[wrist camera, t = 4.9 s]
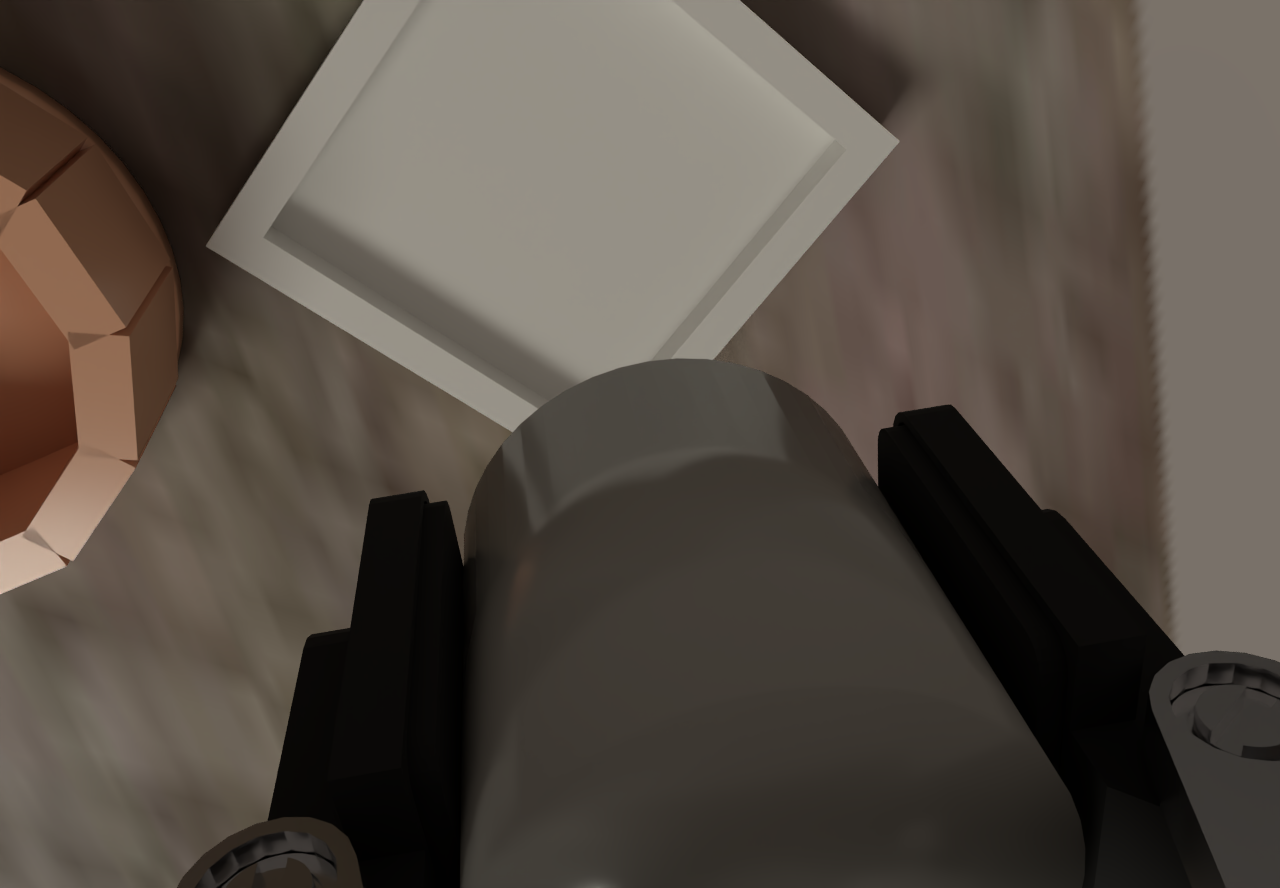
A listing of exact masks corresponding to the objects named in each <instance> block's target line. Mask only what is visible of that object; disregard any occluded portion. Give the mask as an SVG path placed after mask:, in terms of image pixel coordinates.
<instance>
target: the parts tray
mask: <svg viewBox="0 0 1280 888" xmlns="http://www.w3.org/2000/svg"><path fill="white" fill-rule="evenodd" d="M899 142H900V141H899V140H898V139H897V138H895V137H894V136H893V135H892V134H891V133H890V132H889V131H888V130H886V129H885V128H884V127H883V126H882V125H881V124H880V123H878V122H877V121H876V120H875V119H874V118H873V117H872V116H870V115H869V114H868V113H867V112H866V111H865V110H864V109H863V108H861V107H860V106H859V105H858V104H857V103H856V102H855V101H853V100H852V99H851V98H850V97H849V96H848V95H847V94H846V93H844V92H843V91H842V90H841V89H840V88H839V87H838V86H836V85H835V84H834V83H833V82H832V81H831V80H830V79H829V78H827V77H826V76H825V75H824V74H823V73H822V72H821V71H819V70H818V69H817V68H816V67H815V66H814V65H813V64H811V63H810V62H809V61H808V60H807V59H806V58H805V57H804V56H802V55H801V54H800V53H799V52H798V51H797V50H796V49H794V48H793V47H792V46H791V45H790V44H789V43H788V42H787V41H785V40H784V39H783V38H782V37H781V36H780V35H779V34H777V33H776V32H775V31H774V30H773V29H772V28H771V27H770V26H768V25H767V24H766V23H765V22H764V21H763V20H762V19H760V18H759V17H758V16H757V15H756V14H755V13H754V12H752V11H751V10H750V9H749V8H748V7H747V6H746V5H745V4H743V3H742V2H741V1H740V0H362V2H361V3H360V5H359V7H358V8H357V10H356V11H355V13H354V14H353V16H352V17H351V19H350V21H349V22H348V24H347V25H346V27H345V28H344V30H343V31H342V33H341V35H340V36H339V38H338V39H337V41H336V42H335V44H334V45H333V47H332V49H331V50H330V52H329V53H328V55H327V56H326V58H325V59H324V61H323V63H322V64H321V66H320V67H319V69H318V70H317V72H316V73H315V75H314V77H313V78H312V80H311V81H310V83H309V84H308V86H307V87H306V89H305V91H304V92H303V94H302V95H301V97H300V98H299V100H298V101H297V103H296V105H295V106H294V108H293V109H292V111H291V112H290V114H289V115H288V117H287V119H286V120H285V122H284V123H283V125H282V126H281V128H280V129H279V131H278V133H277V134H276V136H275V137H274V139H273V140H272V142H271V143H270V145H269V147H268V148H267V150H266V151H265V153H264V154H263V156H262V157H261V159H260V161H259V162H258V164H257V165H256V167H255V168H254V170H253V171H252V173H251V175H250V176H249V178H248V179H247V181H246V182H245V184H244V185H243V187H242V189H241V190H240V192H239V193H238V195H237V196H236V198H235V199H234V201H233V203H232V204H231V206H230V207H229V209H228V210H227V212H226V213H225V215H224V216H223V218H222V220H221V221H220V223H219V224H218V226H217V227H216V229H215V231H214V233H213V234H212V236H211V238H210V239H209V241H208V243H207V245H206V247H208V248H209V249H211V250H212V251H214V252H216V253H217V254H219V255H221V256H222V257H224V258H226V259H227V260H229V261H231V262H232V263H234V264H236V265H237V266H239V267H241V268H242V269H244V270H246V271H247V272H249V273H250V274H252V275H254V276H255V277H257V278H259V279H260V280H262V281H264V282H265V283H267V284H269V285H270V286H272V287H274V288H275V289H277V290H279V291H280V292H282V293H284V294H285V295H287V296H288V297H290V298H292V299H293V300H295V301H297V302H298V303H300V304H302V305H303V306H305V307H307V308H308V309H310V310H312V311H313V312H315V313H317V314H318V315H320V316H322V317H323V318H325V319H326V320H328V321H330V322H331V323H333V324H335V325H336V326H338V327H340V328H341V329H343V330H345V331H346V332H348V333H350V334H351V335H353V336H355V337H356V338H358V339H360V340H361V341H363V342H364V343H366V344H368V345H369V346H371V347H373V348H374V349H376V350H378V351H379V352H381V353H383V354H384V355H386V356H388V357H389V358H391V359H393V360H394V361H396V362H398V363H399V364H401V365H402V366H404V367H406V368H407V369H409V370H411V371H412V372H414V373H416V374H417V375H419V376H421V377H422V378H424V379H426V380H427V381H429V382H431V383H432V384H434V385H436V386H437V387H439V388H440V389H442V390H444V391H445V392H447V393H449V394H450V395H452V396H454V397H455V398H457V399H459V400H460V401H462V402H464V403H465V404H467V405H469V406H470V407H472V408H474V409H475V410H477V411H478V412H480V413H482V414H483V415H485V416H487V417H488V418H490V419H492V420H493V421H495V422H497V423H498V424H500V425H502V426H503V427H505V428H507V429H508V430H510V431H512V432H514V430H515V429H516V428H517V427H518V426H519V425H520V424H521V423H522V422H523V421H524V420H526V419H527V418H528V417H529V416H530V415H532V414H533V413H534V412H535V411H536V410H537V409H539V408H540V407H541V406H542V405H544V404H545V403H547V402H548V401H550V400H551V399H553V398H555V397H556V396H558V395H559V394H561V393H562V392H564V391H565V390H567V389H569V388H571V387H573V386H575V385H577V384H579V383H581V382H583V381H585V380H588V379H590V378H592V377H594V376H597V375H600V374H603V373H606V372H609V371H611V370H614V369H617V368H620V367H625V366H629V365H634V364H638V363H643V362H647V361H655V360H666V359H676V358H685V359H710V360H713V359H714V358H715V357H716V356H717V355H718V354H719V352H720V351H721V350H722V349H723V348H724V347H725V345H726V344H727V343H728V342H729V341H730V339H731V338H732V337H733V336H734V335H735V334H736V332H737V331H738V330H739V329H740V328H741V327H742V325H743V324H744V323H745V322H746V321H747V320H748V318H749V317H750V316H751V315H752V314H753V313H754V311H755V310H756V309H757V308H758V307H759V306H760V304H761V303H762V302H763V301H764V300H765V299H766V297H767V296H768V295H769V294H770V293H771V292H772V290H773V289H774V288H775V287H776V286H777V284H778V283H779V282H780V281H781V280H782V279H783V277H784V276H785V275H786V274H787V273H788V272H789V270H790V269H791V268H792V267H793V266H794V265H795V263H796V262H797V261H798V260H799V259H800V258H801V256H802V255H803V254H804V253H805V252H806V251H807V249H808V248H809V247H810V246H811V245H812V244H813V242H814V241H815V240H816V239H817V238H818V237H819V235H820V234H821V233H822V232H823V231H824V229H825V228H826V227H827V226H828V225H829V224H830V222H831V221H832V220H833V219H834V218H835V217H836V215H837V214H838V213H839V212H840V211H841V210H842V208H843V207H844V206H845V205H846V204H847V203H848V201H849V200H850V199H851V198H852V197H853V196H854V194H855V193H856V192H857V191H858V190H859V189H860V187H861V186H862V185H863V184H864V183H865V182H866V180H867V179H868V178H869V177H870V176H871V174H872V173H873V172H874V171H875V170H876V169H877V167H878V166H879V165H880V164H881V163H882V162H883V160H884V159H885V158H886V157H887V156H888V155H889V153H890V152H891V151H892V150H893V149H894V148H895V146H896V145H897V144H898V143H899Z"/></svg>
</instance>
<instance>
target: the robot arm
mask: <svg viewBox="0 0 1280 888" xmlns="http://www.w3.org/2000/svg"><path fill="white" fill-rule="evenodd" d="M878 488H879V489H880V491H881V492H882V494H883V496H884V497H885V499H886V500H887V502H888V504H889V505H890V507H891V508H892V510H893V512H894V513H895V515H896V516H897V518H898V520H899V521H900V523H901V524H902V526H903V528H904V529H905V531H906V532H907V534H908V535H909V537H910V539H911V540H912V542H913V543H914V545H915V547H916V548H917V550H918V551H919V553H920V555H921V556H922V558H923V559H924V561H925V563H926V564H927V566H928V567H929V569H930V571H931V572H932V574H933V575H934V577H935V579H936V580H937V582H938V583H939V585H940V587H941V588H942V590H943V591H944V593H945V595H946V596H947V598H948V599H949V601H950V603H951V604H952V606H953V607H954V609H955V610H956V612H957V614H958V615H959V617H960V618H961V620H962V622H963V623H964V625H965V626H966V628H967V630H968V631H969V633H970V634H971V636H972V638H973V639H974V641H975V642H976V644H977V646H978V647H979V649H980V650H981V652H982V654H983V655H984V657H985V658H986V660H987V662H988V663H989V665H990V666H991V668H992V670H993V671H994V673H995V674H996V676H997V678H998V679H999V681H1000V682H1001V684H1002V685H1003V687H1004V689H1005V690H1006V692H1007V693H1008V695H1009V697H1010V698H1011V700H1012V701H1013V703H1014V705H1015V706H1016V708H1017V709H1018V711H1019V713H1020V714H1021V716H1022V717H1023V719H1024V721H1025V722H1026V724H1027V725H1028V727H1029V729H1030V730H1031V732H1032V733H1033V735H1034V737H1035V738H1036V740H1037V741H1038V743H1039V745H1040V746H1041V748H1042V749H1043V751H1044V753H1045V754H1046V756H1047V757H1048V759H1049V760H1050V762H1051V764H1052V765H1053V767H1054V768H1055V770H1056V772H1057V773H1058V775H1059V776H1060V778H1061V780H1062V781H1063V783H1064V784H1065V786H1066V788H1067V789H1068V791H1069V792H1070V794H1071V796H1072V799H1073V802H1074V804H1075V807H1076V809H1077V812H1078V815H1079V817H1080V820H1081V825H1082V831H1083V837H1084V843H1085V876H1084V881H1083V886H1082V888H1280V662H1277V661H1275V660H1271V659H1267V658H1263V657H1259V656H1255V655H1251V654H1247V653H1240V652H1227V651H1210V652H1201V653H1193V654H1188V655H1186V656H1184V655H1183V654H1182V652H1181V651H1180V650H1179V649H1178V648H1177V647H1176V646H1175V644H1174V643H1173V642H1172V641H1171V640H1170V639H1169V637H1168V636H1167V635H1166V634H1165V633H1164V632H1163V631H1162V629H1161V628H1160V627H1159V626H1158V625H1157V624H1156V623H1155V621H1154V620H1153V619H1152V618H1151V617H1150V616H1149V614H1148V613H1147V612H1146V611H1145V610H1144V609H1143V608H1142V606H1141V605H1140V604H1139V603H1138V602H1137V601H1136V600H1135V598H1134V597H1133V596H1132V595H1131V594H1130V593H1129V592H1128V590H1127V589H1126V588H1125V587H1124V586H1123V585H1122V583H1121V582H1120V581H1119V580H1118V579H1117V578H1116V577H1115V575H1114V574H1113V573H1112V572H1111V571H1110V570H1109V569H1108V567H1107V566H1106V565H1105V564H1104V563H1103V562H1102V561H1101V559H1100V558H1099V557H1098V556H1097V555H1096V554H1095V552H1094V551H1093V550H1092V549H1091V548H1090V547H1089V546H1088V544H1087V543H1086V542H1085V541H1084V540H1083V539H1082V538H1081V536H1080V535H1079V534H1078V533H1077V532H1076V531H1075V530H1074V528H1073V527H1072V526H1071V525H1070V524H1069V523H1068V521H1067V520H1066V519H1065V518H1064V517H1063V516H1061V515H1060V514H1059V513H1058V512H1057V511H1055V510H1050V509H1044V510H1041V509H1040V508H1039V507H1038V505H1037V504H1036V503H1035V502H1034V501H1033V499H1032V498H1031V497H1030V496H1029V495H1028V494H1027V492H1026V491H1025V490H1024V489H1023V488H1022V486H1021V485H1020V484H1019V483H1018V482H1017V481H1016V479H1015V478H1014V477H1013V476H1012V475H1011V473H1010V472H1009V471H1008V470H1007V469H1006V468H1005V466H1004V465H1003V464H1002V463H1001V462H1000V461H999V459H998V458H997V457H996V456H995V455H994V453H993V452H992V451H991V450H990V449H989V448H988V446H987V445H986V444H985V443H984V442H983V440H982V439H981V438H980V437H979V436H978V435H977V433H976V432H975V431H974V430H973V429H972V427H971V426H970V425H969V424H968V423H967V422H966V420H965V419H964V418H963V417H962V416H961V414H960V413H959V412H958V411H957V410H956V409H955V408H954V407H953V406H952V405H942V406H936V407H930V408H924V409H918V410H912V411H905V412H899V413H898V414H897V415H896V416H895V420H894V424H893V427H890V428H884V429H881V430H880V432H879V436H878ZM463 580H464V567H463V563H462V559H461V554H460V550H459V546H458V541H457V537H456V533H455V528H454V524H453V520H452V515H451V511H450V507H449V505H448V502H447V501H441V502H434V503H429V499H428V497H427V494H426V492H425V491H424V490H423V491H417V492H411V493H405V494H399V495H393V496H387V497H380V498H374V499H371V501H370V504H369V510H368V516H367V523H366V529H365V536H364V542H363V549H362V555H361V562H360V568H359V575H358V581H357V588H356V594H355V601H354V607H353V614H352V620H351V627H350V628H347V629H341V630H335V631H329V632H323V633H317V634H312V635H310V636H309V637H308V638H307V640H306V643H305V646H304V649H303V653H302V658H301V663H300V668H299V673H298V677H297V682H296V687H295V692H294V697H293V701H292V706H291V711H290V716H289V721H288V726H287V730H286V735H285V740H284V745H283V750H282V754H281V759H280V764H279V769H278V774H277V778H276V783H275V788H274V793H273V798H272V803H271V807H270V812H269V817H268V821H266V822H261V823H257V824H254V825H252V826H250V827H248V828H246V829H244V830H241V831H239V832H237V833H235V834H233V835H231V836H229V837H227V838H226V839H224V840H223V841H222V842H220V843H219V844H217V845H216V846H215V847H213V848H212V849H210V850H209V851H208V852H206V853H205V854H204V855H203V856H202V857H201V858H200V859H199V860H198V861H197V862H196V863H195V864H194V865H193V866H192V868H191V869H190V870H189V871H188V872H187V873H186V874H185V875H184V876H183V878H182V879H181V881H180V883H179V885H178V887H177V888H460V835H461V750H462V665H463Z"/></svg>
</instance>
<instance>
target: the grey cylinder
mask: <svg viewBox="0 0 1280 888" xmlns="http://www.w3.org/2000/svg"><path fill="white" fill-rule="evenodd" d="M1084 876H1085V843H1084V837H1083V831H1082V825H1081V820H1080V817H1079V815H1078V812H1077V809H1076V807H1075V804H1074V802H1073V799H1072V796H1071V794H1070V792H1069V791H1068V789H1067V788H1066V786H1065V784H1064V783H1063V781H1062V780H1061V778H1060V776H1059V775H1058V773H1057V772H1056V770H1055V768H1054V767H1053V765H1052V764H1051V762H1050V760H1049V759H1048V757H1047V756H1046V754H1045V753H1044V751H1043V749H1042V748H1041V746H1040V745H1039V743H1038V741H1037V740H1036V738H1035V737H1034V735H1033V733H1032V732H1031V730H1030V729H1029V727H1028V725H1027V724H1026V722H1025V721H1024V719H1023V717H1022V716H1021V714H1020V713H1019V711H1018V709H1017V708H1016V706H1015V705H1014V703H1013V701H1012V700H1011V698H1010V697H1009V695H1008V693H1007V692H1006V690H1005V689H1004V687H1003V685H1002V684H1001V682H1000V681H999V679H998V678H997V676H996V674H995V673H994V671H993V670H992V668H991V666H990V665H989V663H988V662H987V660H986V658H985V657H984V655H983V654H982V652H981V650H980V649H979V647H978V646H977V644H976V642H975V641H974V639H973V638H972V636H971V634H970V633H969V631H968V630H967V628H966V626H965V625H964V623H963V622H962V620H961V618H960V617H959V615H958V614H957V612H956V610H955V609H954V607H953V606H952V604H951V603H950V601H949V599H948V598H947V596H946V595H945V593H944V591H943V590H942V588H941V587H940V585H939V583H938V582H937V580H936V579H935V577H934V575H933V574H932V572H931V571H930V569H929V567H928V566H927V564H926V563H925V561H924V559H923V558H922V556H921V555H920V553H919V551H918V550H917V548H916V547H915V545H914V543H913V542H912V540H911V539H910V537H909V535H908V534H907V532H906V531H905V529H904V528H903V526H902V524H901V523H900V521H899V520H898V518H897V516H896V515H895V513H894V512H893V510H892V508H891V507H890V505H889V504H888V502H887V500H886V499H885V497H884V496H883V494H882V492H881V491H880V489H879V488H878V486H877V484H876V483H875V481H874V480H873V478H872V476H871V475H870V473H869V472H868V470H867V468H866V467H865V465H864V464H863V462H862V460H861V459H860V457H859V456H858V454H857V453H856V451H855V449H854V448H853V446H852V445H851V443H850V441H849V440H848V438H847V437H846V435H845V434H844V432H843V430H842V429H841V428H840V426H839V425H838V424H837V423H836V422H835V421H834V420H833V418H832V417H831V416H830V415H829V414H828V413H827V412H826V411H825V410H824V409H823V408H822V407H821V406H820V405H818V404H817V403H816V402H815V401H814V400H812V399H811V398H810V397H809V396H808V395H806V394H805V393H803V392H801V391H800V390H798V389H797V388H795V387H793V386H792V385H790V384H788V383H787V382H785V381H783V380H781V379H779V378H776V377H774V376H772V375H769V374H767V373H765V372H763V371H760V370H757V369H753V368H749V367H746V366H742V365H739V364H735V363H730V362H723V361H716V360H710V359H685V358H676V359H666V360H655V361H647V362H643V363H638V364H634V365H629V366H625V367H620V368H617V369H614V370H611V371H609V372H606V373H603V374H600V375H597V376H594V377H592V378H590V379H588V380H585V381H583V382H581V383H579V384H577V385H575V386H573V387H571V388H569V389H567V390H565V391H564V392H562V393H561V394H559V395H558V396H556V397H555V398H553V399H551V400H550V401H548V402H547V403H545V404H544V405H542V406H541V407H540V408H539V409H537V410H536V411H535V412H534V413H533V414H532V415H530V416H529V417H528V418H527V419H526V420H524V421H523V422H522V423H521V424H520V425H519V426H518V427H517V428H516V429H515V430H514V432H513V433H512V434H511V435H510V436H509V437H508V438H507V439H506V440H505V441H504V442H503V444H502V445H501V446H500V448H499V449H498V451H497V452H496V454H495V455H494V456H493V458H492V459H491V461H490V462H489V464H488V465H487V467H486V469H485V471H484V473H483V475H482V477H481V479H480V481H479V483H478V485H477V487H476V489H475V492H474V495H473V498H472V501H471V504H470V507H469V510H468V515H467V521H466V526H465V532H464V580H463V665H462V750H461V835H460V888H1082V886H1083V881H1084Z"/></svg>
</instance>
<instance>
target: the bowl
mask: <svg viewBox="0 0 1280 888" xmlns="http://www.w3.org/2000/svg"><path fill="white" fill-rule="evenodd" d="M183 319H184V307H183V298H182V290H181V281H180V277H179V273H178V269H177V265H176V262H175V258H174V254H173V250H172V248H171V245H170V243H169V241H168V238H167V236H166V233H165V231H164V228H163V226H162V224H161V221H160V219H159V217H158V216H157V214H156V212H155V210H154V209H153V207H152V205H151V203H150V202H149V200H148V198H147V196H146V194H145V193H144V191H143V190H142V188H141V187H140V186H139V184H138V183H137V181H136V180H135V179H134V177H133V176H132V175H131V173H130V172H129V170H128V169H127V168H126V166H125V165H124V164H123V162H122V161H121V160H120V159H119V158H118V157H117V156H116V155H115V154H114V153H113V151H112V150H111V149H110V148H109V147H108V146H107V145H106V144H105V143H104V142H103V141H102V140H101V138H100V137H99V136H98V135H97V134H96V133H94V132H93V131H92V130H91V129H90V128H89V127H88V126H86V125H85V124H84V123H83V122H82V121H81V120H80V119H78V118H77V117H76V116H75V115H74V114H73V113H71V112H70V111H69V110H68V109H67V108H65V107H64V106H62V105H61V104H59V103H58V102H57V101H55V100H54V99H52V98H51V97H49V96H48V95H47V94H45V93H44V92H42V91H41V90H39V89H38V88H37V87H35V86H33V85H31V84H29V83H28V82H26V81H24V80H22V79H20V78H19V77H17V76H15V75H13V74H11V73H10V72H8V71H6V70H4V69H2V68H1V67H0V594H2V593H4V592H7V591H9V590H11V589H14V588H16V587H19V586H21V585H23V584H26V583H28V582H30V581H33V580H35V579H38V578H40V577H42V576H45V575H47V574H49V573H52V572H54V571H57V570H59V569H61V568H64V567H66V566H67V565H68V563H69V561H70V560H72V561H74V559H75V558H76V556H77V555H78V553H79V552H80V550H81V549H82V547H83V546H84V544H85V543H86V541H87V540H88V538H89V537H90V535H91V534H92V532H93V531H94V529H95V528H96V526H97V525H98V523H99V522H100V520H101V519H102V517H103V516H104V514H105V513H106V511H107V510H108V509H109V507H110V506H111V504H112V503H113V501H114V500H115V498H116V497H117V495H118V494H119V492H120V491H121V489H122V488H123V486H124V485H125V483H126V482H127V480H128V479H129V477H130V476H131V474H132V473H133V471H134V470H135V468H136V466H137V464H138V462H139V460H140V458H141V456H142V454H143V452H144V450H145V448H146V446H147V444H148V442H149V440H150V438H151V436H152V434H153V432H154V430H155V428H156V426H157V424H158V422H159V420H160V418H161V415H162V413H163V411H164V409H165V407H166V405H167V403H168V401H169V399H170V397H171V395H172V393H173V391H174V389H175V387H176V385H175V384H176V382H177V380H178V361H179V355H180V350H181V345H182V339H183Z"/></svg>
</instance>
